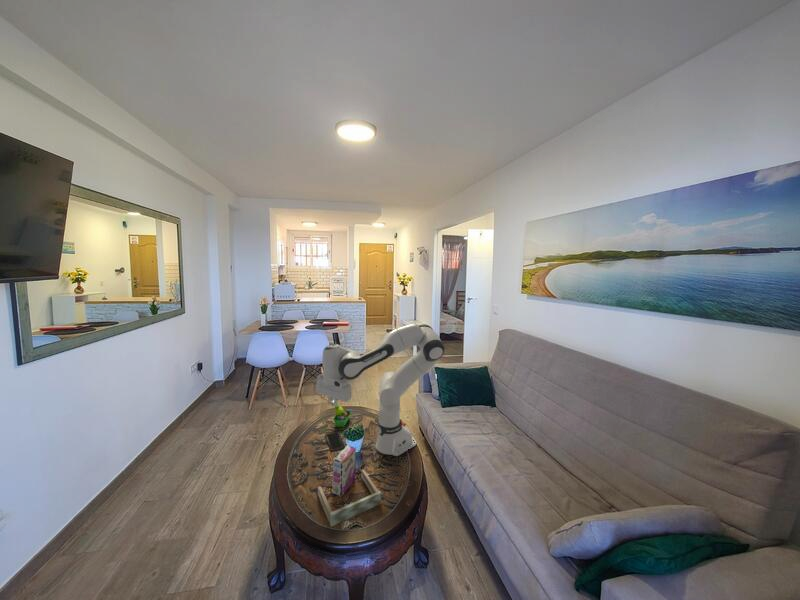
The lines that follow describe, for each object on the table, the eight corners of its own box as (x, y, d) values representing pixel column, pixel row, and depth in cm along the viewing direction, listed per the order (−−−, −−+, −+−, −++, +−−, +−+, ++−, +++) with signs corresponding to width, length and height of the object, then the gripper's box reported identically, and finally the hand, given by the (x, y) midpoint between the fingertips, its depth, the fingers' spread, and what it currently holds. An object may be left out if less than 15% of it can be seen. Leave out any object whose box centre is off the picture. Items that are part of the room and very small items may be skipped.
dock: (363, 477, 138) (363, 467, 137) (381, 503, 124) (381, 492, 123) (317, 495, 127) (317, 484, 126) (331, 526, 112) (331, 515, 112)
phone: (330, 450, 155) (324, 434, 168) (330, 452, 155) (324, 436, 168) (345, 446, 158) (338, 431, 172) (345, 448, 158) (338, 433, 172)
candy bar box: (341, 498, 126) (341, 462, 123) (332, 493, 128) (331, 459, 125) (355, 480, 136) (356, 447, 134) (346, 476, 138) (346, 444, 136)
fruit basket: (344, 428, 176) (344, 411, 174) (330, 426, 177) (330, 409, 176) (351, 418, 187) (351, 401, 185) (338, 416, 188) (338, 400, 187)
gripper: (312, 375, 145) (313, 402, 147) (344, 385, 134) (344, 413, 136) (322, 371, 150) (323, 397, 152) (353, 380, 139) (353, 407, 141)
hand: (333, 405), depth 144 cm, fingers closed
